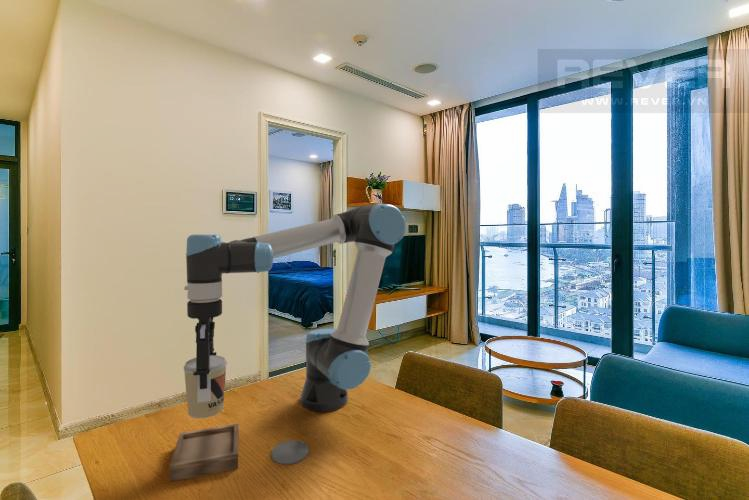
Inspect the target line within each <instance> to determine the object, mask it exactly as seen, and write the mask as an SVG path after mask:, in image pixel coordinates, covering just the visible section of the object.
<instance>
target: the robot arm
mask: <svg viewBox="0 0 749 500" xmlns="http://www.w3.org/2000/svg"><path fill="white" fill-rule="evenodd" d="M406 228H407V227H406V220H405V217H404V216H403V213H402V211H400V209H399V208H398V207H396V206H395V205H392V204H389V203H378V204H372V205H362V206H357V207H355V208H352V209H349V210H347V211H344V212H340V213H336V214H333V215H332V216H331V218H328V219H326V220H325V219H324V220H320V221H316V222H312V223H308V224H303V225H299V226H294V227H291V228H287V229H283V230H278V231H273V232H269V233H265V234H261V235H256V236H253V237H248V238H244V239H243V238H242V239H239V240H238V239H235V240H231V241H229V242H224V241H223V240H222V236H221V235H220V234H191V235H189V236H188V237H187V238H186V251H185V256H186V257H185V260H186V261H185V262H186V263H185V264H186V282H187V283H186V285H185V286H184V288H183V290H185V291H187V292H186V293H187V294H186V296H187V299H188V300H189V301H187V304H186V307H187V308H186V309H187V311H186V314H187V317H188V318H190V319H193V320H194V319H195V320H196V319H197V320H198V322H197V323H196V325H195V327H194V331H195V344H196V357H195V358H196V372H193V375H197V403H199V402H207V401H211V384H210V370H209V366H210V355H216V356H217V351H215V347H214V346H215V345H214V337H215V328H216V327H215V326H216V325H215V323H216V322H215V321H214V318H217V317H219V316H221V315H222V314H223V300H222V299H221V298H222V297H223V277H222V276H223V274H238V273H239V274H243V273H248V274H249V273H256V274H258V273H263V272H269V271H271V269H272V267H273V264H274V259H278V258H282V257H285V256H289V255H292V254H297V253H300V252H303V251H308V250H311V249H316V248H319V247H323V246H327V245H330V244H333V243H338V244H339V245H343V244H347V243H353V242H354V246H355V247H356V249H357V252H356V257H355V261H354V264H353V268H352V272H351V275H350V280H349V283H348V287H347V290H346V291H347V292H346V295H345V298H344V303H343V305H342V310H341V314H340V316H339V317H340V318H339V321H338V325H337V328H320V329H315V330H311V331H309V332H308V333H307V334H306V336H305V338H306V339H305V363H306V364H305V370H306V371H305V375H306V376H305V381H304V383H303V388H302V390H301V393H300V404H301V406H302V407H303V408H304V409H307V410H309V411H314V412H329V411H330V412H331V411H335V410H338V409H340V408H342V407H344V406H345V405H346V404H347V403H348V402H349V393H348V391H349V390H353V389H355V388H358V387H359V386H360V385H362V384H363V383H364V382H365V381H366V380H367V378H368V377H369V375H370V372H371V370H372V369H371V365H372V364H371V363H372V362H371V360H370V358H369V355H368V354H367V353H368V349H369V346H370V342H369V340H368V338H367V332H368V329H369V324H370V321H371V317H372V313H373V309H374V306H375V303H376V302H375V300H376V297H377V294H378V289H379V286H380V281H381V278H382V274H383V269H384V266H385V262H386V258H387V257H388V256H391V254H393V251H394V247H395V244H397V243H399V242H400V241H401V240H402V239H403V238H404V236H405V233H406ZM202 368H205V369H202Z"/></svg>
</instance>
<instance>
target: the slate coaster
mask: <svg viewBox="0 0 749 500" xmlns="http://www.w3.org/2000/svg"><path fill="white" fill-rule="evenodd" d="M308 455H309V447H308V445H307V444H306V443H305V442H303V441H301V440H287V441H283V442H281V443H278V444H277V445H275V446H274V447H273V448H272V449H271V452H270V458H271V460H272V461H273V462H274V463H275V464H278V465H281V466H282V465H283V466H287V465H288V466H289V465H294V464H298V463H299V462H302V461H303V460H304V459H306V457H307V456H308Z"/></svg>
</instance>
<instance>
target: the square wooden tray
mask: <svg viewBox="0 0 749 500" xmlns="http://www.w3.org/2000/svg"><path fill="white" fill-rule="evenodd" d="M239 432H240V431H239V423H234V424H228V425H222V426H213V427H208V428H203V429H196V430H190V431H185V432H179V435H178V437H177V440H176V443H175V446H174V450H173V454H172V457H171V460H170V463H169V468H168V469H169V482H170V483H171V482H176V481H181V480H187V479H191V478H192V479H193V478H196V477H201V476H202V477H204V476H206V475H211V474H212V475H213V474H217V473H222V472H228V471H231V470H237V469H239V445H240V444H239V439H240V438H239V437H240V436H239V434H240V433H239Z"/></svg>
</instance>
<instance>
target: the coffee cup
mask: <svg viewBox="0 0 749 500" xmlns="http://www.w3.org/2000/svg"><path fill="white" fill-rule="evenodd" d="M227 363H228V362H227V360H226V358H225V357H224V356H221V355H217V354H216V355H210V366H209V370H210V384H211V401H207V402H199V403H197V375H193V372H196V357H193V358H192V359H189V360H187V361H186V362H185V363H184V365H183V371H184V379H185V380H184V381H185V392H186V393H185V394H186V403H187V404H186V405H187V413H188V416H189V417H191V418H193V419H205V418H211V417H213V416H216V415H218V414H219V413H221V412H222V411H223V409H224V403H225V390H226V389H225V388H226V373H227ZM202 369H205V368H202Z"/></svg>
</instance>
